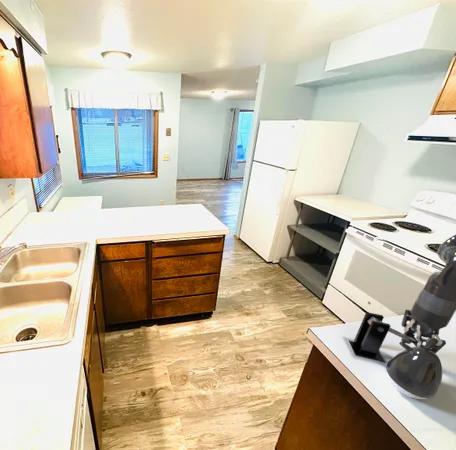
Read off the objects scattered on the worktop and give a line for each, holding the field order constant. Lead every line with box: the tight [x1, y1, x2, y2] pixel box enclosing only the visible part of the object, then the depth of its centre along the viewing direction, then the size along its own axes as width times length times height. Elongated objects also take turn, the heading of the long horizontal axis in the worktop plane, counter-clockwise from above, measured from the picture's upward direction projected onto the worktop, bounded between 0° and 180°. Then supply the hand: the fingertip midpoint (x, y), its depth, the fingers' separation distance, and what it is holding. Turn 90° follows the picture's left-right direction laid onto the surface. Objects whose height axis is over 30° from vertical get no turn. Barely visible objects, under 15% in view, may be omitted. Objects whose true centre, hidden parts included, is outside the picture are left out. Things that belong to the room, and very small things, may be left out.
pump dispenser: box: [385, 340, 443, 400], centre depth 66 cm, size 10×10×15 cm
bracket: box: [348, 311, 392, 364], centre depth 78 cm, size 8×8×14 cm
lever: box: [368, 317, 418, 347], centre depth 76 cm, size 14×5×2 cm, turn 71°
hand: (410, 349), depth 76 cm, fingers closed on lever, 5 cm apart
